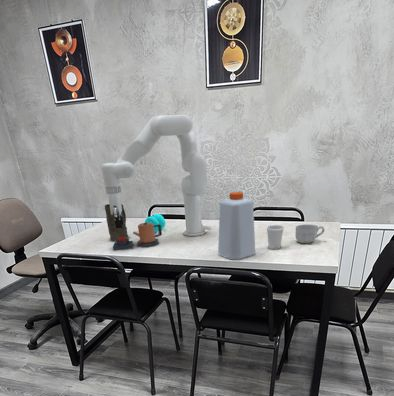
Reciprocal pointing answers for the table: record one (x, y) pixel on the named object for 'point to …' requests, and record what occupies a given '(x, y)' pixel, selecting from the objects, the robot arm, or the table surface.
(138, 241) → the base
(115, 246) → the switch box
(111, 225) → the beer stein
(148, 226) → the kettle
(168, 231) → the table surface
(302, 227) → the teacup
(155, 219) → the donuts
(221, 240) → the plastic bottle
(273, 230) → the dixie cup
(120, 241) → the button
